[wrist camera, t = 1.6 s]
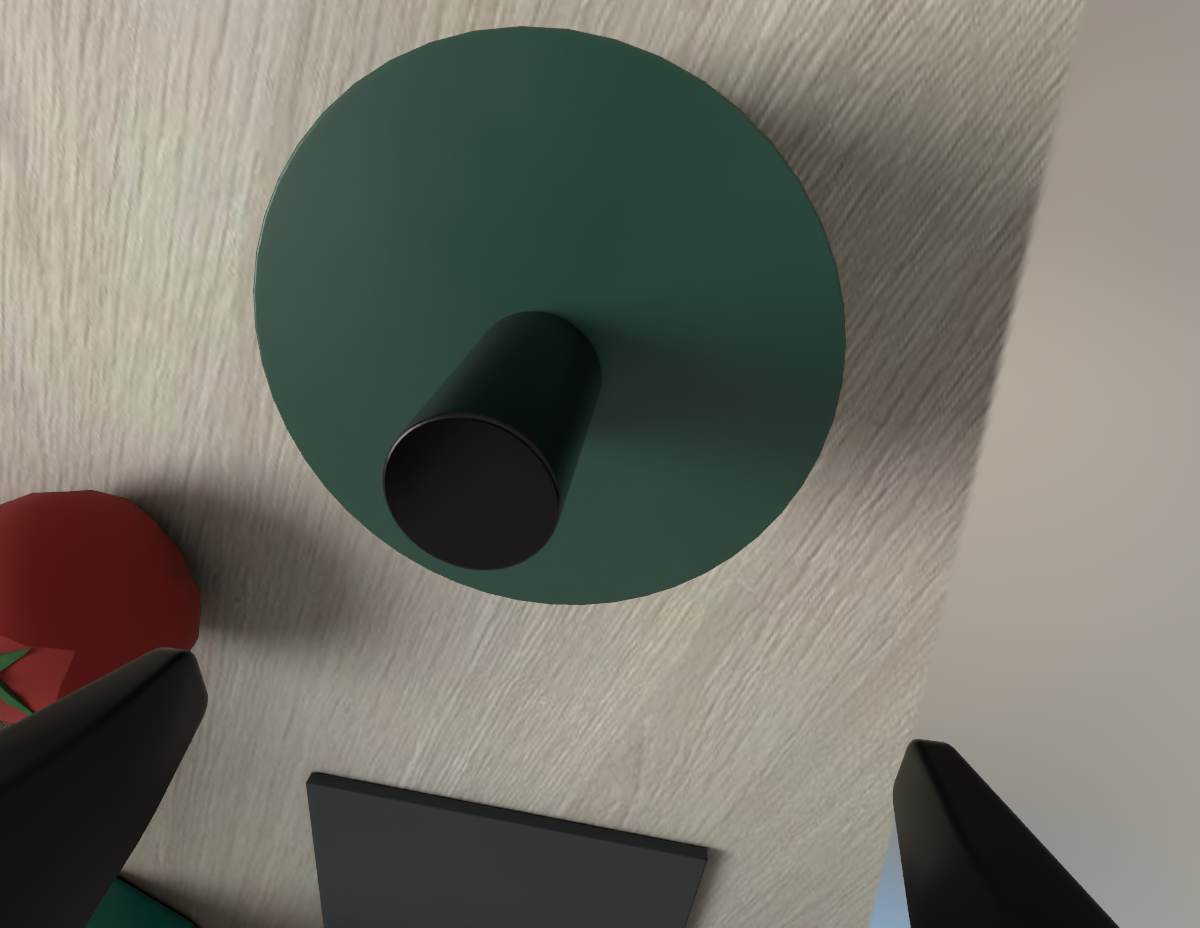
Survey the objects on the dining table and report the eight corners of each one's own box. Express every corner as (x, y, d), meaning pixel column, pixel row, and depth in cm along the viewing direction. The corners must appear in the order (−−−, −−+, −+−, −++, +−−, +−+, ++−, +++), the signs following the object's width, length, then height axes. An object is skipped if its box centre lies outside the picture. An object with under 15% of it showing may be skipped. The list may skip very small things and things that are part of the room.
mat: (707, 847, 31) (707, 861, 30) (650, 1022, 39) (649, 1035, 38) (311, 771, 32) (305, 782, 31) (333, 957, 40) (328, 968, 39)
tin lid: (921, 81, 11) (1095, 78, 6) (759, 612, 16) (785, 835, 12) (251, -13, 12) (-73, -81, 7) (305, 532, 17) (147, 713, 12)
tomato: (25, 577, 28) (-170, 720, 22) (42, 421, 24) (-187, 539, 18) (215, 663, 29) (81, 822, 23) (260, 525, 25) (115, 671, 19)
